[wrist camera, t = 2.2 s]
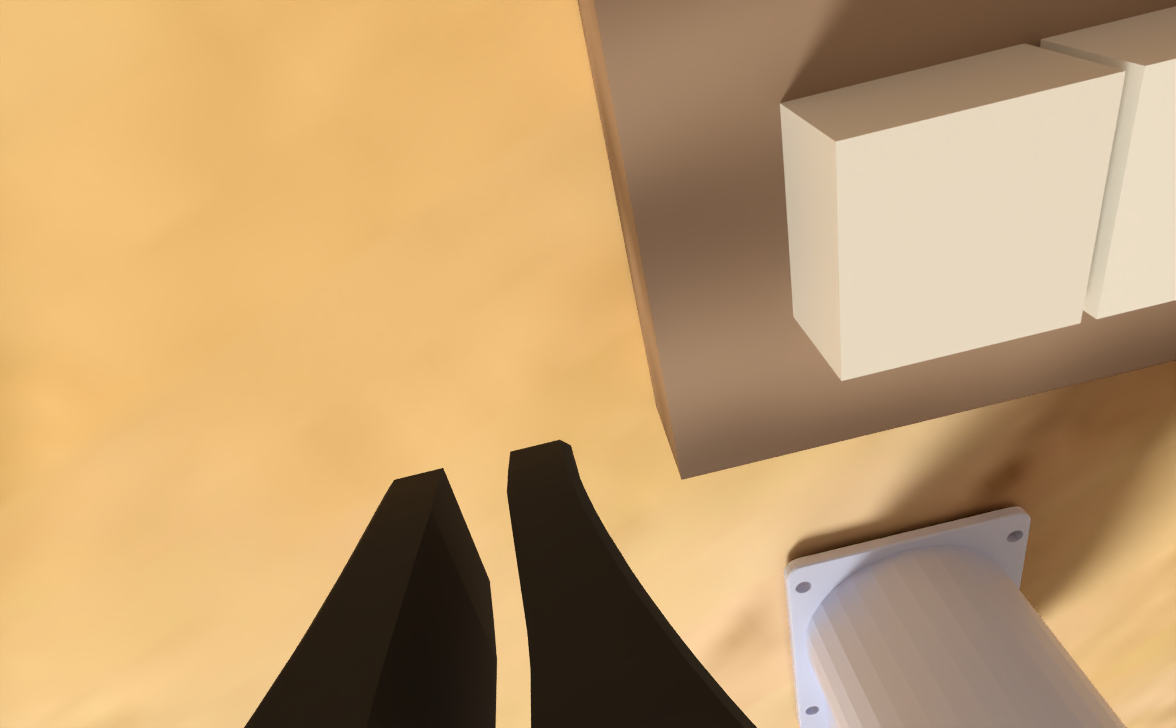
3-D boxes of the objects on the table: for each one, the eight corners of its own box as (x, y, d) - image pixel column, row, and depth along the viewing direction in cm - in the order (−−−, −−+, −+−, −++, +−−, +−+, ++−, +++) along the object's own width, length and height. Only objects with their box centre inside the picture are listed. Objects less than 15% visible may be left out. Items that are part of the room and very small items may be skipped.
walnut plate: (1158, 285, 20) (1254, 340, 18) (656, 407, 20) (681, 479, 18) (1292, -281, 14) (1473, -320, 11) (558, -99, 14) (576, -98, 11)
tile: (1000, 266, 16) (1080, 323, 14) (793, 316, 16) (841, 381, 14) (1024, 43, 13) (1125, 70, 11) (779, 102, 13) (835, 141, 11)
